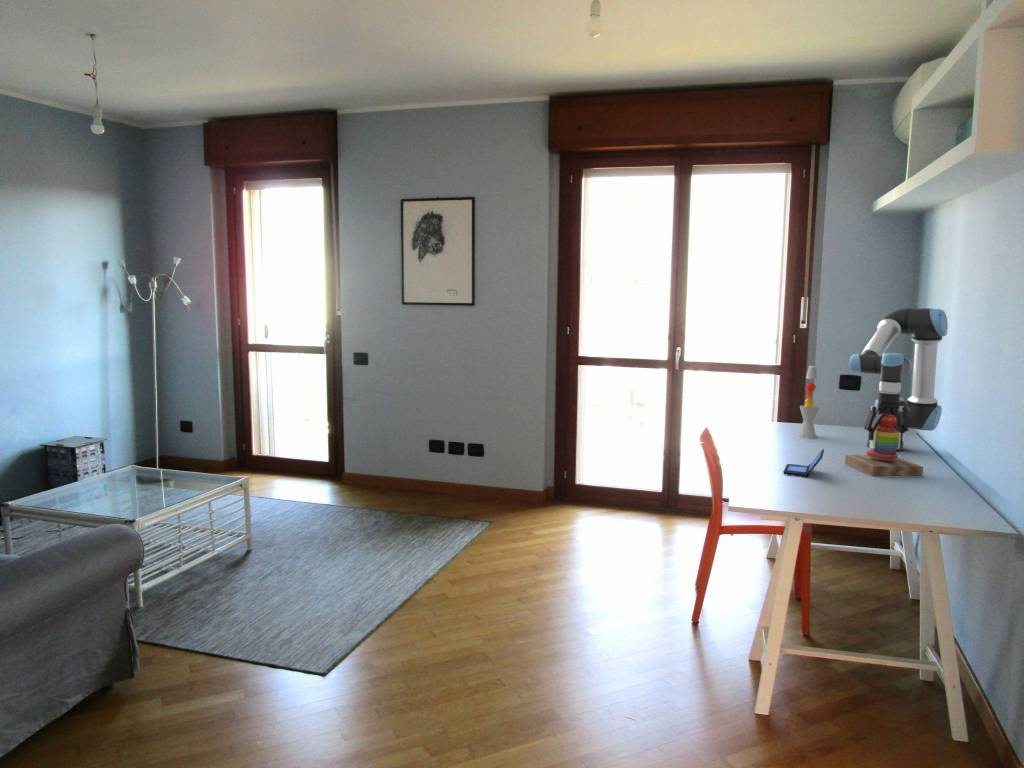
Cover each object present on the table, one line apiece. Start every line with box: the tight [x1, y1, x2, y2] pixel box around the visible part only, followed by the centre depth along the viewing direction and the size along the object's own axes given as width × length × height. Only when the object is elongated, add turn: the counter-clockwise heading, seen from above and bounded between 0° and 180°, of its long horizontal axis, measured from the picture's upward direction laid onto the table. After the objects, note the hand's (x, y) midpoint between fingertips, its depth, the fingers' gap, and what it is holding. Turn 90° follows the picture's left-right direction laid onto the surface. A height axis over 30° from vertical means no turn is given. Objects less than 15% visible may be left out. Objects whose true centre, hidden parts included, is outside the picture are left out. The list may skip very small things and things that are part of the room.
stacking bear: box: [866, 413, 899, 460], centre depth 281 cm, size 11×10×18 cm
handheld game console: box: [782, 448, 825, 478], centre depth 275 cm, size 16×13×9 cm
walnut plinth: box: [844, 454, 924, 477], centre depth 283 cm, size 20×20×4 cm
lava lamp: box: [797, 365, 820, 439], centre depth 349 cm, size 9×9×35 cm
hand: (884, 448), depth 282 cm, fingers closed on stacking bear, 9 cm apart
